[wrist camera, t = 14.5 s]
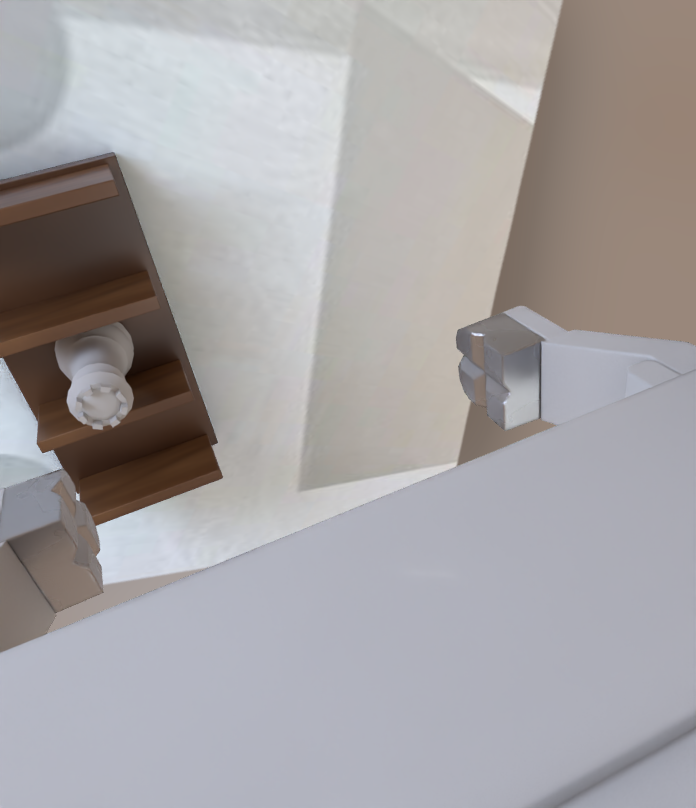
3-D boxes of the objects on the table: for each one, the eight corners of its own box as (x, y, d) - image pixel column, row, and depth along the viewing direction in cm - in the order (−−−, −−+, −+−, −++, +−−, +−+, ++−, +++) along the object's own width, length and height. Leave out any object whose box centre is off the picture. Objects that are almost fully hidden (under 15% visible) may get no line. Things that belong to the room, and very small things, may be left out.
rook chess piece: (144, 326, 39) (161, 384, 33) (116, 387, 41) (127, 454, 34) (70, 299, 37) (72, 356, 31) (43, 365, 38) (40, 433, 32)
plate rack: (-78, 199, 33) (-100, 226, 28) (113, 151, 35) (122, 170, 31) (77, 484, 44) (79, 536, 40) (214, 434, 46) (232, 479, 42)
